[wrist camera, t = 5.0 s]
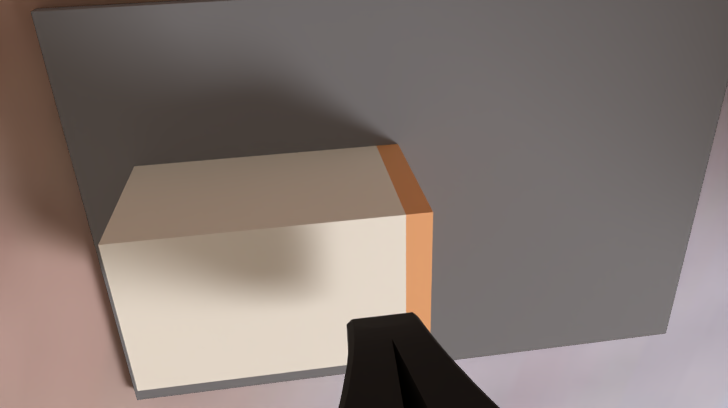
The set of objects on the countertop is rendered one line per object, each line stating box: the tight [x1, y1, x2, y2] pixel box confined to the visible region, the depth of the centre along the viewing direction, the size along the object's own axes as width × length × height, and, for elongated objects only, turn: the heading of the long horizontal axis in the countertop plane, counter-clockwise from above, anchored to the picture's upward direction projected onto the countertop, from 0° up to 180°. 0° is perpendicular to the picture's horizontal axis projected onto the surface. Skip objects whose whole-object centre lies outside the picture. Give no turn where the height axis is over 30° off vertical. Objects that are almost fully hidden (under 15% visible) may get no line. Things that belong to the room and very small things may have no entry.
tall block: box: [98, 144, 433, 391], centre depth 16 cm, size 4×4×7 cm
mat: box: [31, 0, 728, 400], centre depth 18 cm, size 18×12×1 cm, turn 91°
